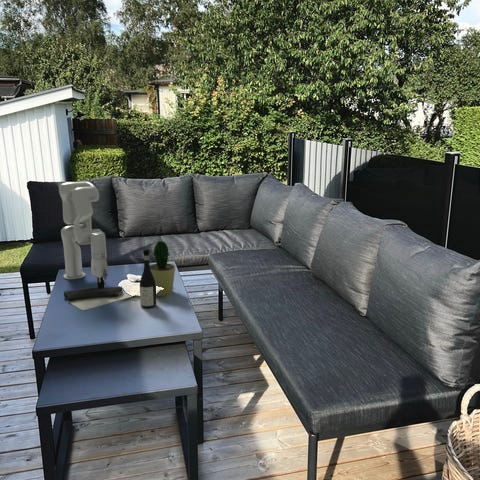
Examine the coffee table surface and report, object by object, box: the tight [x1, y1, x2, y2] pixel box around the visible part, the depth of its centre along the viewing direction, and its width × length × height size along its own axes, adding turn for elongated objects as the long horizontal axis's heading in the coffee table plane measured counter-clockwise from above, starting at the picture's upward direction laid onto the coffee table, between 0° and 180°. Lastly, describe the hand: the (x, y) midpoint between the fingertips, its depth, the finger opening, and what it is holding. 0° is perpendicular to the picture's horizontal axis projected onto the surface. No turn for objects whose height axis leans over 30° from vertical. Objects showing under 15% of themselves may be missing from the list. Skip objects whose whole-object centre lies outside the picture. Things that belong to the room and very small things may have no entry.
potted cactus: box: [149, 240, 176, 297], centre depth 264 cm, size 15×15×30 cm
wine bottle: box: [139, 248, 157, 309], centre depth 244 cm, size 8×8×30 cm
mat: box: [66, 289, 133, 312], centre depth 258 cm, size 18×33×1 cm, turn 135°
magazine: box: [63, 286, 123, 302], centre depth 258 cm, size 17×3×30 cm
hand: (101, 288), depth 258 cm, fingers closed
